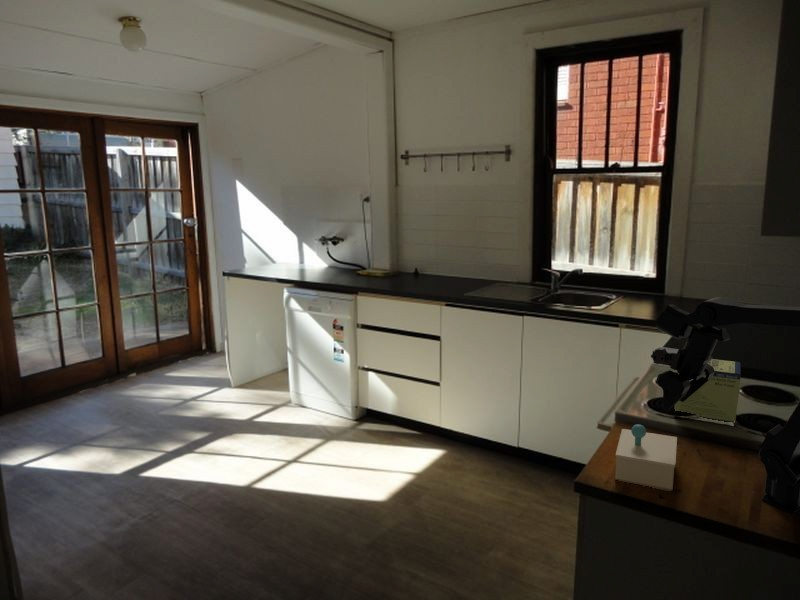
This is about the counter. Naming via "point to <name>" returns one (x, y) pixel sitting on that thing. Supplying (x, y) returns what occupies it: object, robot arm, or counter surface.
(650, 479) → the carton
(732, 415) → the protein box
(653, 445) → the carton lid
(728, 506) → the counter surface
